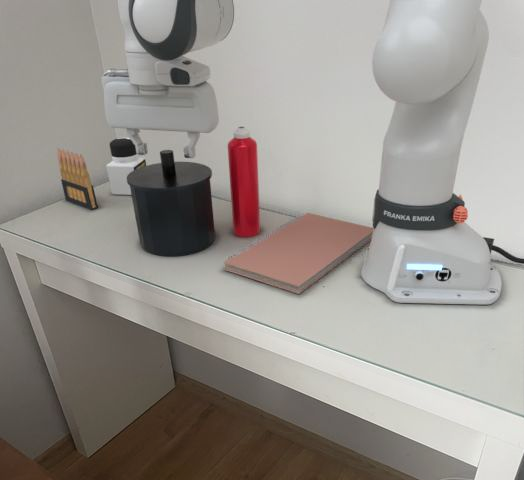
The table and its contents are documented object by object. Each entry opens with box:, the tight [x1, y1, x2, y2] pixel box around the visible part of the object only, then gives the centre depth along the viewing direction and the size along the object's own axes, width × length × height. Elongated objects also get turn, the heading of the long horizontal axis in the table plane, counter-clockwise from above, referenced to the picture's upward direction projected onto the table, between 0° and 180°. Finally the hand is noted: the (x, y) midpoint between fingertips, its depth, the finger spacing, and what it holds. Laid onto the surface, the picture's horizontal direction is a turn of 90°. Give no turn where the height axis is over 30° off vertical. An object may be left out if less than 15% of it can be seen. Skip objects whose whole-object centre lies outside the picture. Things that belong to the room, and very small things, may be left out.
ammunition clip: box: [56, 147, 99, 211], centre depth 120 cm, size 11×2×12 cm, turn 49°
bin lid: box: [127, 149, 213, 191], centre depth 96 cm, size 16×16×5 cm
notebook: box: [223, 212, 374, 295], centre depth 98 cm, size 27×17×2 cm, turn 143°
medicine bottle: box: [105, 137, 147, 196], centre depth 127 cm, size 7×7×12 cm
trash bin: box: [130, 178, 216, 257], centre depth 101 cm, size 15×15×12 cm
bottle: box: [227, 126, 261, 238], centre depth 101 cm, size 6×6×20 cm
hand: (166, 155), depth 95 cm, fingers open, 8 cm apart
